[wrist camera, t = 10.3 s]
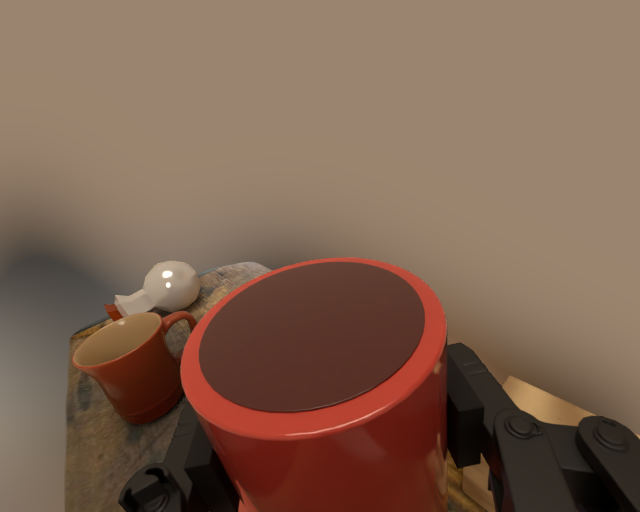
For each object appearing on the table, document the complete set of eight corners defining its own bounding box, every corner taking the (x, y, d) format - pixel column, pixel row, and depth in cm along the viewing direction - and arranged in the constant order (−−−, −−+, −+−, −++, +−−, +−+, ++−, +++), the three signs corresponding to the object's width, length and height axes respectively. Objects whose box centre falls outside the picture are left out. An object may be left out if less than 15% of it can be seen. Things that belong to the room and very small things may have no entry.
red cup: (483, 504, 12) (501, 293, 8) (359, 723, 8) (265, 545, 4) (353, 400, 17) (322, 241, 13) (242, 504, 14) (149, 328, 9)
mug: (125, 452, 31) (74, 382, 27) (112, 405, 38) (69, 342, 33) (228, 380, 38) (200, 314, 34) (202, 350, 44) (176, 291, 40)
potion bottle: (214, 300, 60) (138, 350, 53) (187, 267, 63) (112, 310, 56) (207, 277, 52) (117, 331, 45) (177, 241, 55) (89, 286, 48)
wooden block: (670, 518, 20) (702, 464, 17) (650, 644, 16) (688, 596, 13) (504, 423, 27) (509, 374, 25) (461, 491, 23) (463, 442, 21)
